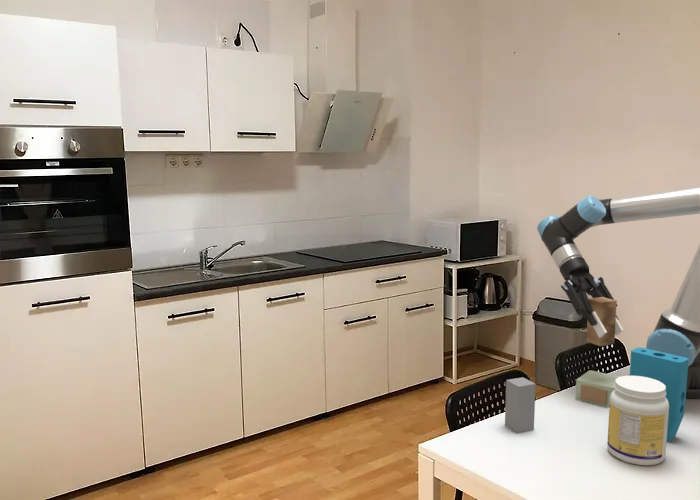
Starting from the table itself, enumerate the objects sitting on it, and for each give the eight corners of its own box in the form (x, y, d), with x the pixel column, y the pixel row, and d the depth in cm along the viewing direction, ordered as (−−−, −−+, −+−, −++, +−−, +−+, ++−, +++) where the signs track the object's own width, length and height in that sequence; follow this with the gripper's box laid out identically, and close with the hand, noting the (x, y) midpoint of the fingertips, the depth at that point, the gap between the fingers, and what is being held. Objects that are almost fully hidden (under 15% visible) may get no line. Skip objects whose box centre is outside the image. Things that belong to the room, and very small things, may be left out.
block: (683, 438, 150) (690, 358, 147) (674, 445, 147) (680, 363, 144) (634, 422, 159) (639, 346, 156) (624, 428, 156) (629, 351, 153)
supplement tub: (616, 437, 151) (620, 370, 149) (671, 452, 144) (676, 381, 141) (599, 456, 142) (603, 384, 139) (657, 473, 134) (662, 397, 132)
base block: (624, 398, 176) (625, 377, 175) (611, 409, 168) (612, 388, 167) (588, 389, 182) (589, 370, 182) (574, 400, 175) (575, 380, 174)
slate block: (521, 422, 160) (522, 377, 158) (533, 430, 156) (535, 383, 154) (504, 425, 158) (506, 380, 157) (517, 433, 154) (518, 386, 152)
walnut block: (600, 339, 174) (602, 296, 173) (614, 343, 170) (616, 300, 168) (586, 341, 173) (588, 298, 171) (599, 346, 168) (602, 302, 166)
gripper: (588, 268, 186) (628, 336, 173) (538, 273, 179) (577, 344, 167) (602, 253, 180) (645, 322, 168) (552, 257, 174) (592, 330, 161)
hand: (611, 333), depth 167 cm, fingers closed on walnut block, 5 cm apart
